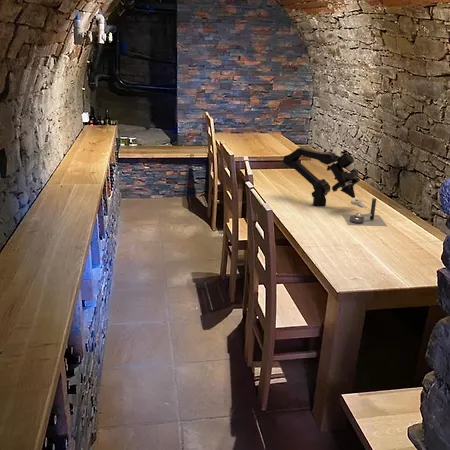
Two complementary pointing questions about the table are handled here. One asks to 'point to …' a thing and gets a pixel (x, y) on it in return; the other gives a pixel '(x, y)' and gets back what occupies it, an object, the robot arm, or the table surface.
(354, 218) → the crank handle
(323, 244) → the table surface
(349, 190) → the robot arm
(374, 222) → the level stand
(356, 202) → the adjustable wrench
